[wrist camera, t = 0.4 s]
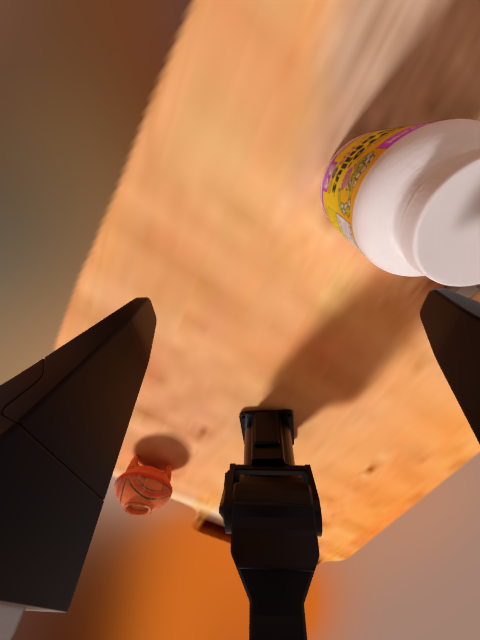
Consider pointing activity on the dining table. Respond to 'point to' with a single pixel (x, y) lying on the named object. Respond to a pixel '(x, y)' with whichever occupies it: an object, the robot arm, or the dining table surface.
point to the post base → (465, 290)
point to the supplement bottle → (411, 199)
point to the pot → (143, 488)
